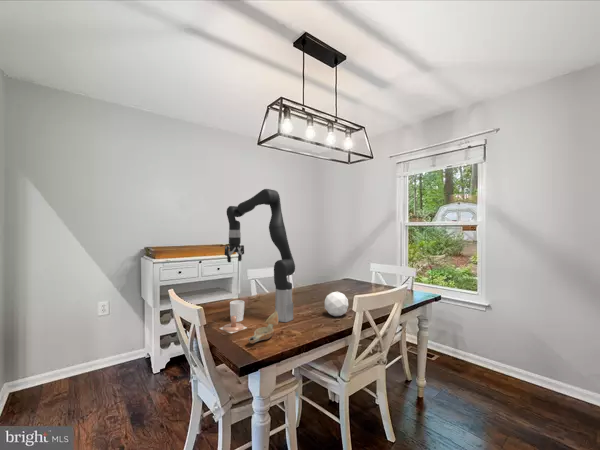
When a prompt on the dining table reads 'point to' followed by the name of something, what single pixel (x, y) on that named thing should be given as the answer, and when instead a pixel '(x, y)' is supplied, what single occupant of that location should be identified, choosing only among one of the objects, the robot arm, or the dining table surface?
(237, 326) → the lid
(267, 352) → the dining table surface
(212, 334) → the dining table surface
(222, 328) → the mat
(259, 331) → the oil lamp
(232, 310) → the white cup
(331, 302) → the geodesic sphere
